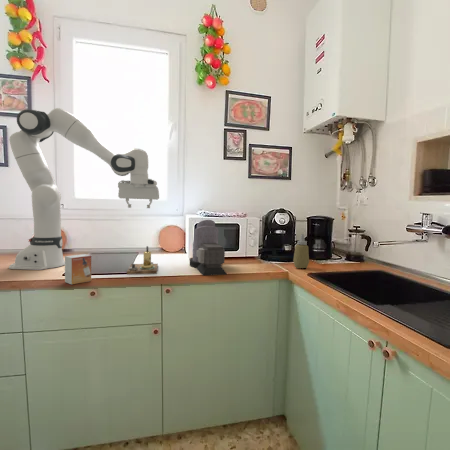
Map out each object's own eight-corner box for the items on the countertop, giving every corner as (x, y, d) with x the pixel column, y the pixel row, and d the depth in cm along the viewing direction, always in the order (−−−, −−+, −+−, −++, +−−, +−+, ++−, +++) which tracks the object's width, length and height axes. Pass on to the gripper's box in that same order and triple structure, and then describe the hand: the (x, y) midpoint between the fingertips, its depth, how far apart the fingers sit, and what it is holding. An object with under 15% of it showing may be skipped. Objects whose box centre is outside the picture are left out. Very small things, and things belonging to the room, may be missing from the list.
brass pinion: (140, 268, 130) (140, 247, 130) (141, 266, 136) (141, 245, 135) (153, 268, 132) (153, 247, 131) (153, 265, 137) (153, 245, 136)
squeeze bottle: (311, 268, 149) (313, 234, 148) (304, 270, 144) (306, 235, 142) (297, 265, 155) (299, 233, 154) (290, 267, 149) (291, 234, 148)
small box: (71, 285, 108) (71, 258, 107) (64, 282, 111) (64, 256, 110) (91, 281, 114) (91, 255, 113) (85, 278, 118) (84, 253, 117)
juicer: (186, 262, 156) (187, 217, 154) (214, 261, 160) (216, 218, 158) (198, 276, 127) (199, 222, 125) (231, 274, 132) (233, 222, 130)
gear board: (126, 274, 126) (126, 265, 126) (131, 266, 141) (131, 258, 141) (156, 273, 129) (156, 265, 129) (157, 266, 144) (157, 258, 143)
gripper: (117, 179, 140) (116, 207, 141) (159, 181, 144) (158, 208, 146) (119, 180, 146) (119, 207, 148) (159, 182, 151) (159, 208, 152)
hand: (139, 207), depth 147 cm, fingers open, 8 cm apart
